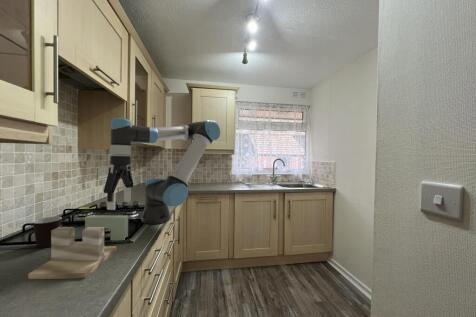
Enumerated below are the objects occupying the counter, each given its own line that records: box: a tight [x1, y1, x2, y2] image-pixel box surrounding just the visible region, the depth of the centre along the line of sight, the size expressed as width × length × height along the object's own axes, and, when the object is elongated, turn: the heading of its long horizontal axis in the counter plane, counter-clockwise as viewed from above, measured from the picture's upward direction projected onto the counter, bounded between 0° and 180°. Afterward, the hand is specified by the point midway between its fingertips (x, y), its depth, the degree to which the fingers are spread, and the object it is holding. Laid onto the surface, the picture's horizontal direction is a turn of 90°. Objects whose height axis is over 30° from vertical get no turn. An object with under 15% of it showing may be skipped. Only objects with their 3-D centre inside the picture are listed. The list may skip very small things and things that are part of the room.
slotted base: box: [27, 226, 118, 280], centre depth 71 cm, size 18×16×12 cm
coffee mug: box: [32, 216, 63, 249], centre depth 85 cm, size 12×9×10 cm
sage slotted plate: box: [84, 214, 129, 241], centre depth 90 cm, size 16×3×10 cm, turn 93°
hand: (119, 205), depth 90 cm, fingers open, 13 cm apart
